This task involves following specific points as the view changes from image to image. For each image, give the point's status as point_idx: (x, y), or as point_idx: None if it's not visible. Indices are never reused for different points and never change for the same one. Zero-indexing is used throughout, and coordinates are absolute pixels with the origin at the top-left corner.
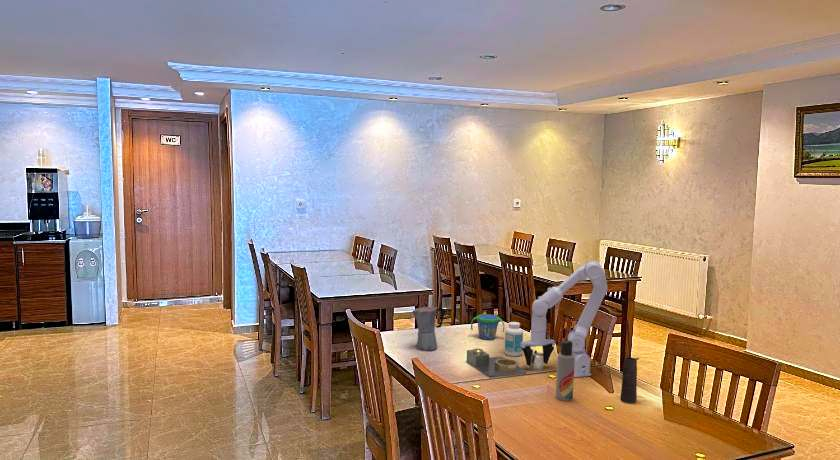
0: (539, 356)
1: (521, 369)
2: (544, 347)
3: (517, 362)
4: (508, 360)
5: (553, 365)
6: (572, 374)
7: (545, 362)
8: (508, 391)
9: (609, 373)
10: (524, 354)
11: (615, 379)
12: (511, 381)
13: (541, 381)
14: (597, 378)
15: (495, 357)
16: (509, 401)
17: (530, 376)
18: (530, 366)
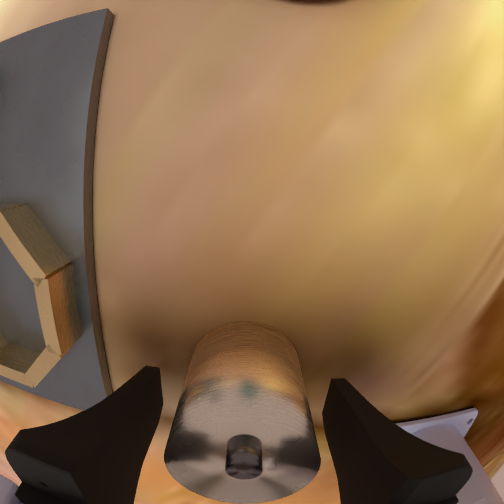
0: (221, 498)
1: (91, 374)
2: (377, 500)
3: (55, 350)
4: (15, 251)
5: (426, 335)
6: None
7: (325, 414)
8: (9, 464)
9: (495, 456)
10: (87, 413)
11: None
12: (20, 428)
13: (150, 490)
14: None
15: (51, 29)
16: None
17: None
18: (193, 356)
